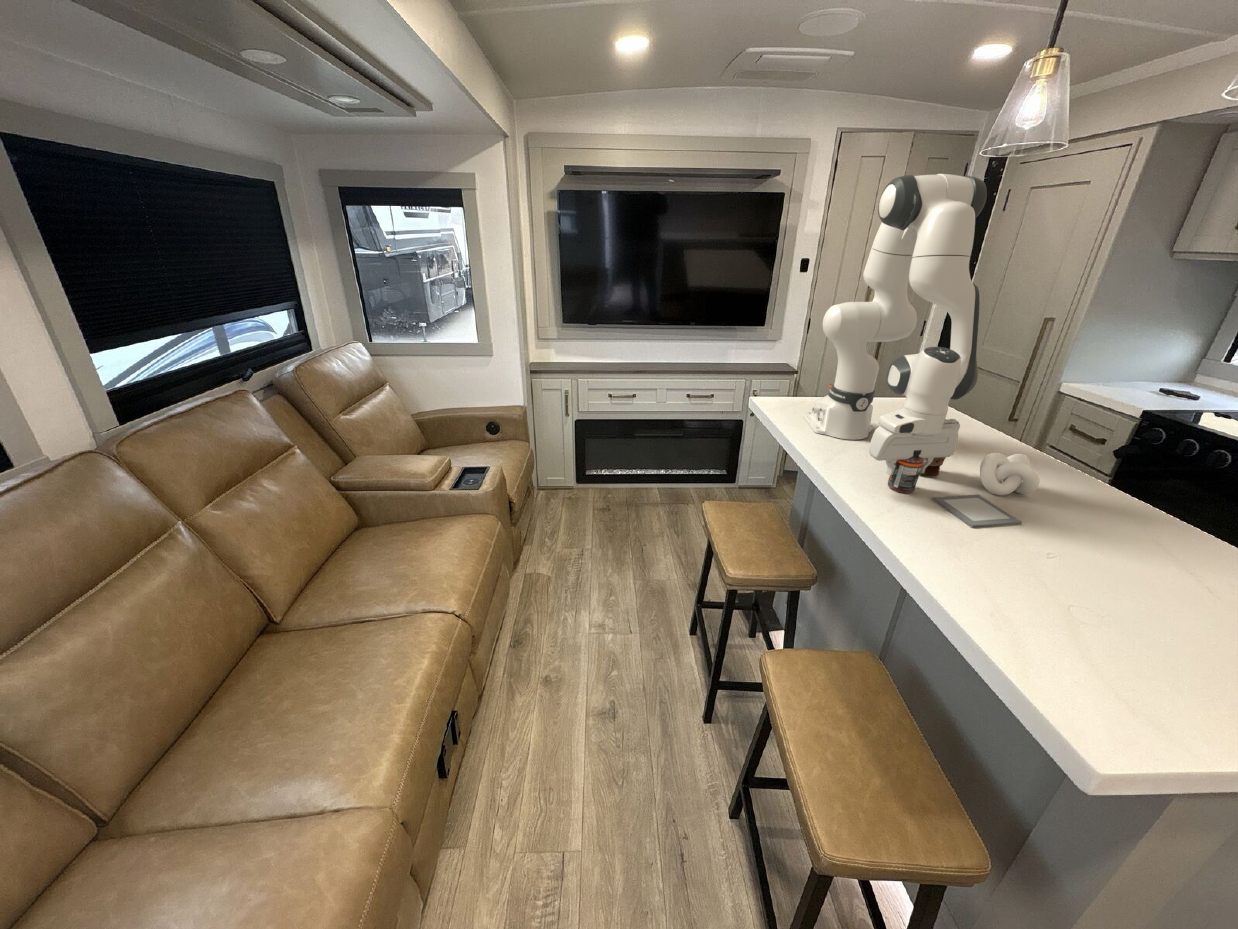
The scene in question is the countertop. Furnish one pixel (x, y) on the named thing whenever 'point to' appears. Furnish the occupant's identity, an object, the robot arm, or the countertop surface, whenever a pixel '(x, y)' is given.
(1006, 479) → the white decorative knot
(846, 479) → the countertop surface
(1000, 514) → the coaster
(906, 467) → the supplement bottle
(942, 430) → the robot arm
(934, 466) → the coffee cup
